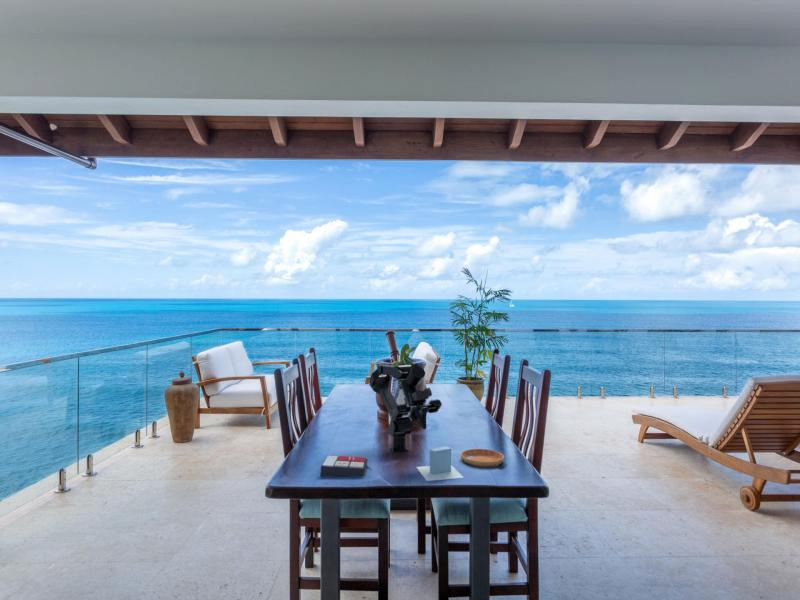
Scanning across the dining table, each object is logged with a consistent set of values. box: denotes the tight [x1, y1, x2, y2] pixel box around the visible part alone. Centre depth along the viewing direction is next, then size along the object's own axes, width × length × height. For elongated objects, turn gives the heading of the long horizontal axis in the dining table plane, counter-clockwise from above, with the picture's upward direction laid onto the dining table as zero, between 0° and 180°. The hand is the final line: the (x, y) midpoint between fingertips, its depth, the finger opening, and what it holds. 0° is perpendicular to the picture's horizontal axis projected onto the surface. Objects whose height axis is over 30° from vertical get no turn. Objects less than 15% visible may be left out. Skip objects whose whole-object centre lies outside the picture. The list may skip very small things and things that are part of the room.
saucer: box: [460, 448, 505, 468], centre depth 171 cm, size 16×16×3 cm
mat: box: [416, 464, 464, 482], centre depth 158 cm, size 14×13×1 cm
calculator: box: [320, 455, 368, 478], centre depth 162 cm, size 11×4×15 cm
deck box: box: [429, 446, 452, 475], centre depth 159 cm, size 3×7×8 cm, turn 118°
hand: (425, 428), depth 168 cm, fingers closed
